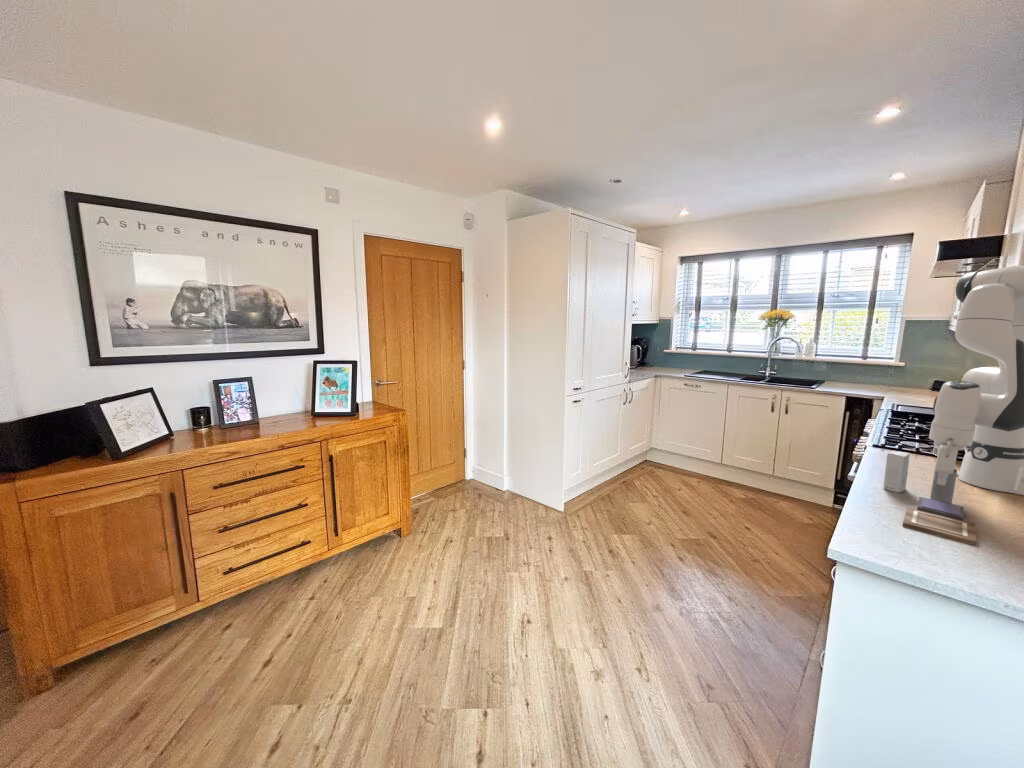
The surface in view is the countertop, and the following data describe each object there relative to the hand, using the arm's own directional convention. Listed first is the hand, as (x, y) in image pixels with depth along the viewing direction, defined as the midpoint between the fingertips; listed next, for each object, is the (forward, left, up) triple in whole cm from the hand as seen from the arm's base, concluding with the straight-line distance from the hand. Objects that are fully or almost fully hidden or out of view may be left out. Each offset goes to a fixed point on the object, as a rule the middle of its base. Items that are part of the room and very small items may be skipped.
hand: (941, 480), depth 122 cm
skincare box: (+4, -9, -7) cm, 12 cm away
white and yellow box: (-48, -36, -7) cm, 60 cm away
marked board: (+18, +14, -7) cm, 23 cm away
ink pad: (+7, +6, -7) cm, 11 cm away
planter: (-1, 0, -7) cm, 7 cm away
